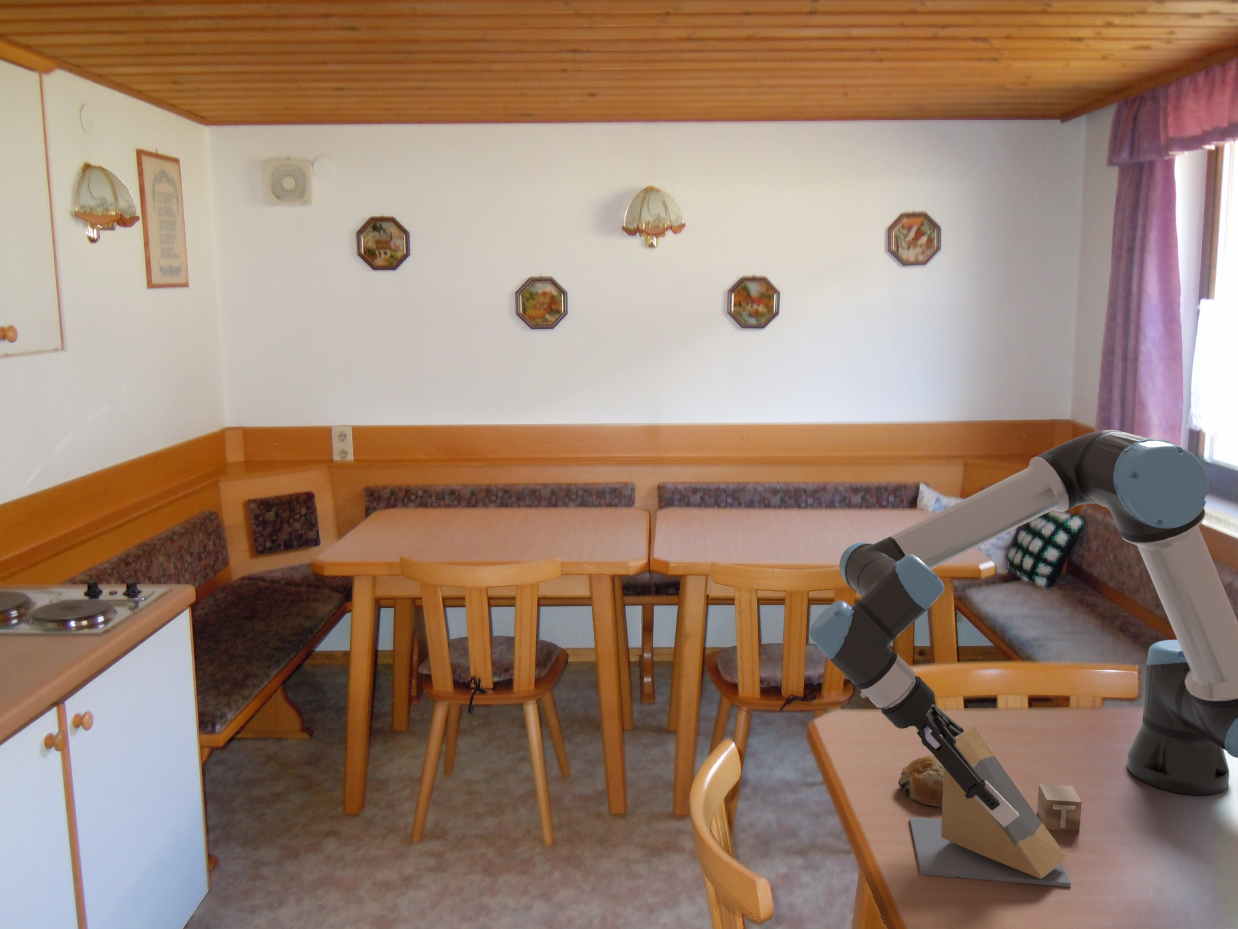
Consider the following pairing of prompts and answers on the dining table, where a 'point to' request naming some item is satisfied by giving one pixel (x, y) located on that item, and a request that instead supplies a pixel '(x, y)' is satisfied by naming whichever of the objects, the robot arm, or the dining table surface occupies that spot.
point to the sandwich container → (980, 831)
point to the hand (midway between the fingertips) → (1002, 798)
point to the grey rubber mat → (968, 859)
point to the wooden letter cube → (1059, 807)
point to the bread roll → (924, 781)
